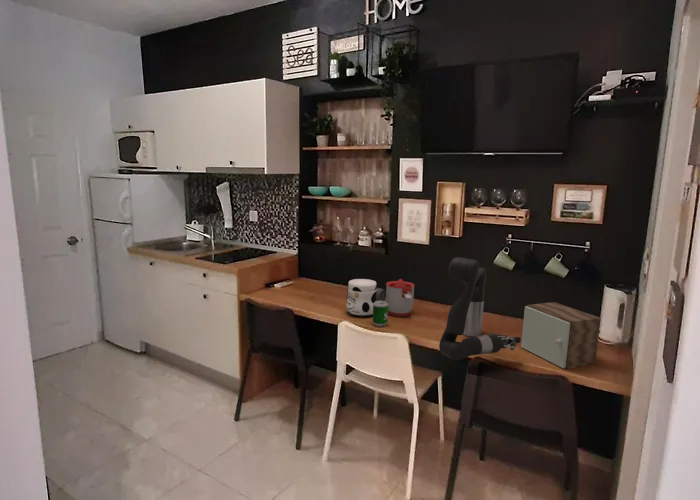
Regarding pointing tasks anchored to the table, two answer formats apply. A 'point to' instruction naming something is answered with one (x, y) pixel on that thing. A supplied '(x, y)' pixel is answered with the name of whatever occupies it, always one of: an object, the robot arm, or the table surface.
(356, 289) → the milk container
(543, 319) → the sage door
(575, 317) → the walnut cabinet
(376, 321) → the soda can
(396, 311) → the citrus juicer
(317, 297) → the table surface
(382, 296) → the bluetooth speaker
